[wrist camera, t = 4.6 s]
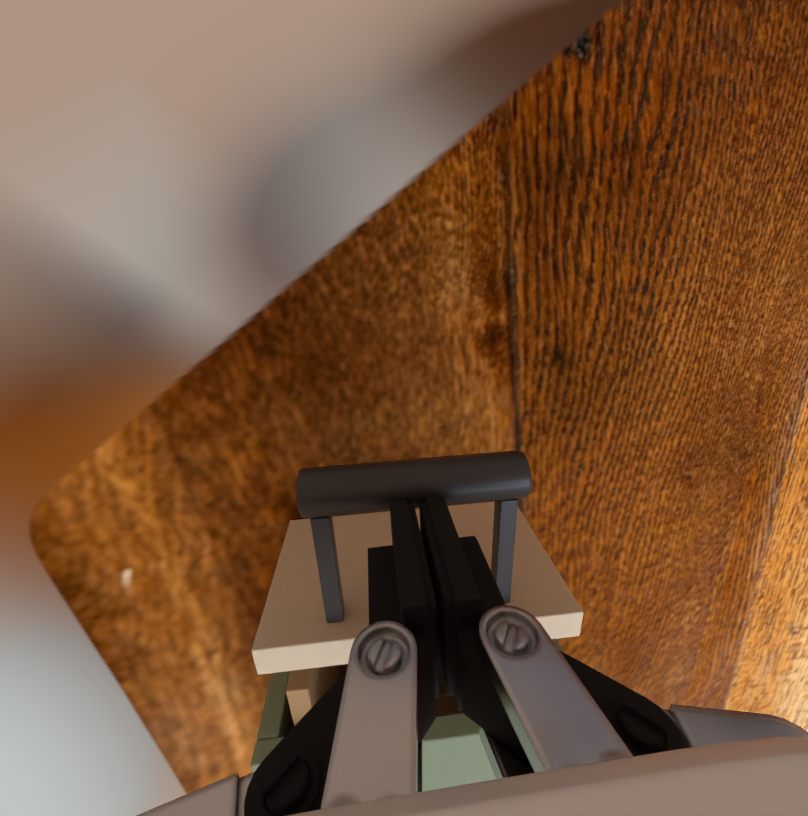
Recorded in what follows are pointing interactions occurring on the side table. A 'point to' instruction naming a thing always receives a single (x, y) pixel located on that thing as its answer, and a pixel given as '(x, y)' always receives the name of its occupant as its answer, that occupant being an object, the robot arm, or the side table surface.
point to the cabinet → (442, 745)
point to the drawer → (353, 534)
